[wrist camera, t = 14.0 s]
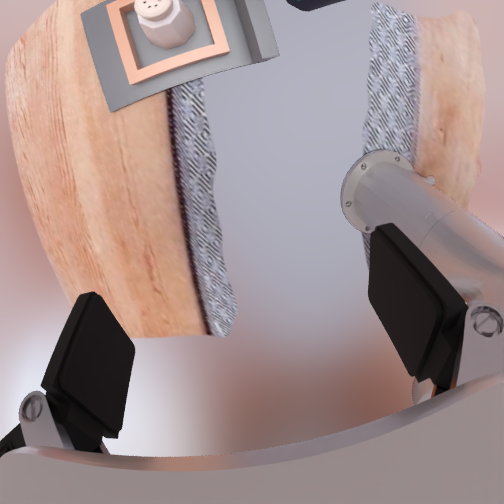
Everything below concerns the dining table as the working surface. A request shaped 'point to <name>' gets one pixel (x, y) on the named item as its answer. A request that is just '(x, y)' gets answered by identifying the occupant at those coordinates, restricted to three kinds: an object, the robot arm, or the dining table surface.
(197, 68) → the gray walled base stand
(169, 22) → the salt shaker
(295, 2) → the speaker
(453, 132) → the dining table surface
